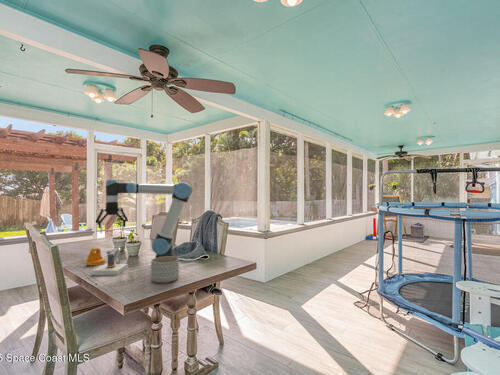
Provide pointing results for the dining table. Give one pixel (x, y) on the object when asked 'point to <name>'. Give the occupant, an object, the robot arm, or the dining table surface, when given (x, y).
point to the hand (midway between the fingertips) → (112, 231)
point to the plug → (110, 260)
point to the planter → (164, 269)
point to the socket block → (109, 269)
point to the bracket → (95, 257)
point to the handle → (116, 254)
